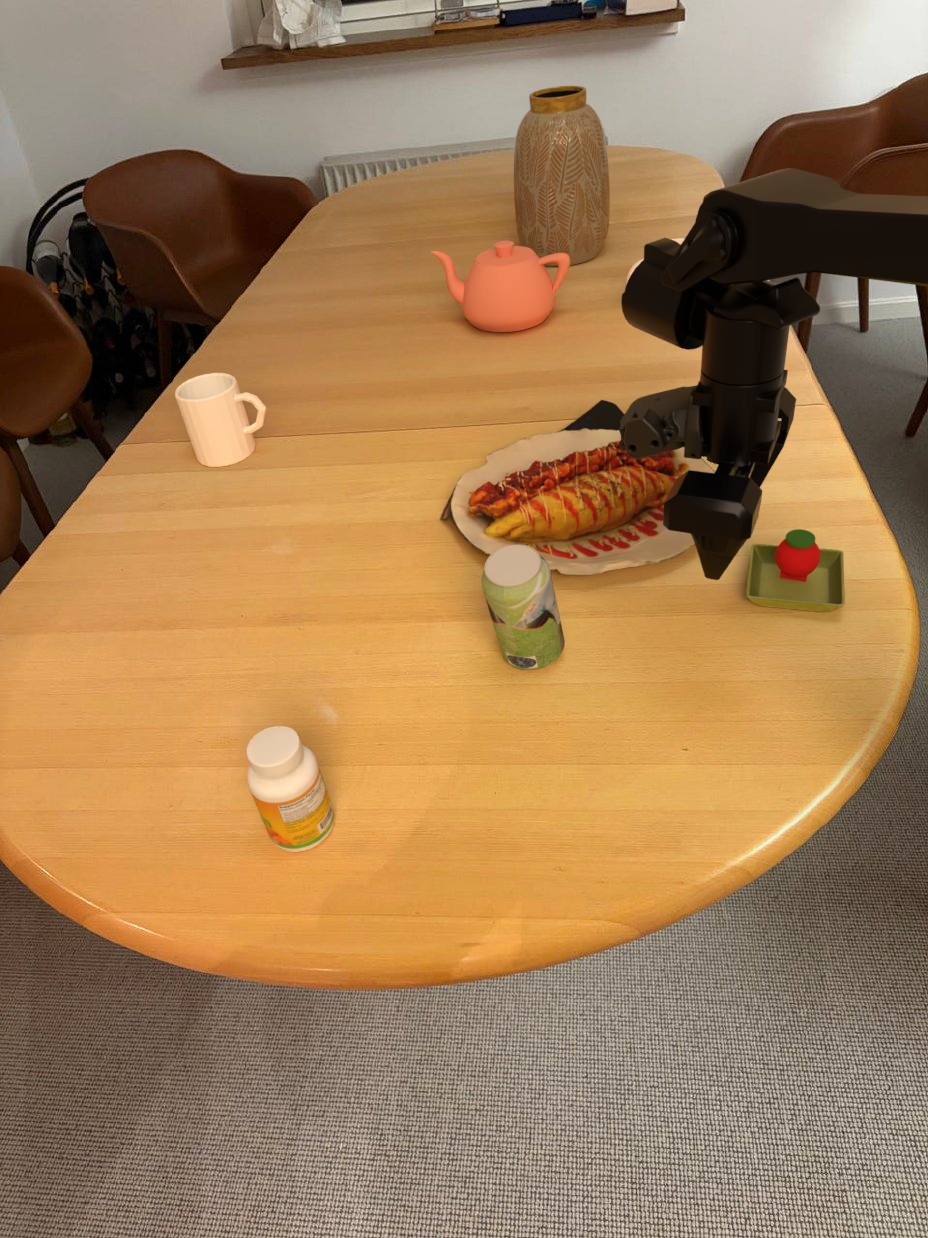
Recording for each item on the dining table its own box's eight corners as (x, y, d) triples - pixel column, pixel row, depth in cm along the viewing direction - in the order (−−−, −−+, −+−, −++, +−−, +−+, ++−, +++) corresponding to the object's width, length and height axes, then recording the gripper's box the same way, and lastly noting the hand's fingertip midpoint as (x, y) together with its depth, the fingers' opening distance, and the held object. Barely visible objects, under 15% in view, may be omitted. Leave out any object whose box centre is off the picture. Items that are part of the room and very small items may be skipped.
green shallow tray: (841, 623, 82) (845, 606, 80) (743, 613, 84) (745, 596, 83) (840, 566, 88) (843, 550, 86) (749, 559, 90) (751, 542, 89)
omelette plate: (627, 399, 118) (628, 350, 113) (778, 545, 93) (786, 490, 88) (407, 463, 113) (397, 415, 108) (502, 635, 88) (495, 583, 83)
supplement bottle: (262, 814, 72) (229, 734, 66) (325, 789, 73) (298, 708, 67) (278, 864, 68) (244, 784, 62) (344, 837, 69) (317, 756, 63)
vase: (586, 274, 157) (582, 102, 140) (502, 266, 165) (488, 103, 148) (624, 242, 168) (625, 79, 151) (543, 236, 176) (535, 81, 159)
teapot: (432, 342, 142) (421, 264, 134) (447, 306, 153) (437, 232, 145) (569, 334, 138) (566, 254, 130) (574, 298, 149) (571, 222, 141)
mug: (265, 470, 116) (245, 401, 110) (186, 466, 119) (162, 399, 113) (290, 439, 122) (273, 373, 115) (214, 436, 125) (193, 371, 119)
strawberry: (819, 564, 85) (826, 528, 82) (813, 589, 82) (820, 552, 80) (777, 557, 87) (782, 521, 84) (769, 581, 84) (774, 545, 81)
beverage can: (576, 643, 84) (571, 540, 76) (539, 693, 79) (530, 589, 71) (518, 625, 87) (508, 524, 79) (479, 672, 82) (465, 570, 74)
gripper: (665, 310, 72) (659, 474, 82) (592, 417, 60) (596, 595, 70) (808, 318, 68) (783, 491, 78) (761, 436, 56) (739, 623, 66)
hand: (725, 545), depth 73 cm, fingers open, 9 cm apart
